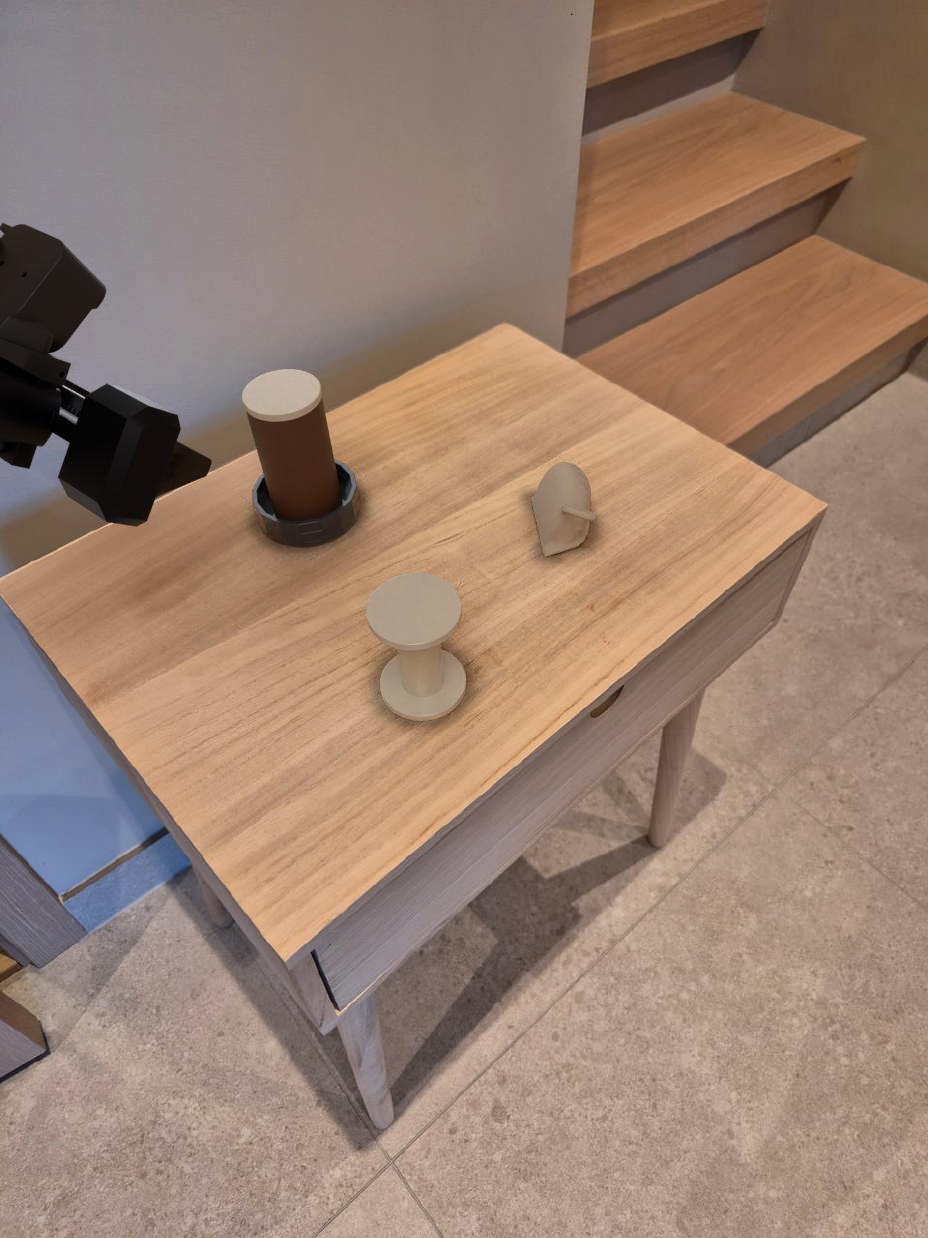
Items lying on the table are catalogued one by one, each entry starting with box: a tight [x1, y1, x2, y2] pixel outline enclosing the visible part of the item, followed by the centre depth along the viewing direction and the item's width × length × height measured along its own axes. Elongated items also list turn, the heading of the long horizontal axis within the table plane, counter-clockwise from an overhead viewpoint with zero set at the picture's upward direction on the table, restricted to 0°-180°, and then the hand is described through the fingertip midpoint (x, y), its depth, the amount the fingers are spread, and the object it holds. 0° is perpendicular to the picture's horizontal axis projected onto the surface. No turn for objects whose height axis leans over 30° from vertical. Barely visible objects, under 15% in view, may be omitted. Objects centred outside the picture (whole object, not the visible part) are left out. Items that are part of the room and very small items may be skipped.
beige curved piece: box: [530, 461, 599, 558], centre depth 64 cm, size 4×8×5 cm, turn 4°
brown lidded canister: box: [241, 368, 342, 521], centre depth 64 cm, size 6×6×11 cm
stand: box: [365, 572, 467, 722], centre depth 54 cm, size 6×6×8 cm
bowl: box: [251, 458, 361, 548], centre depth 68 cm, size 8×8×2 cm
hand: (159, 440), depth 53 cm, fingers open, 9 cm apart
